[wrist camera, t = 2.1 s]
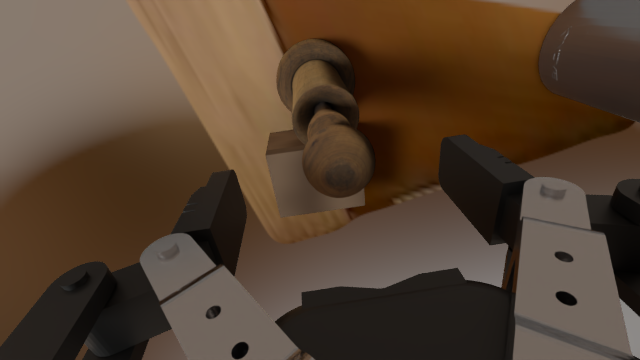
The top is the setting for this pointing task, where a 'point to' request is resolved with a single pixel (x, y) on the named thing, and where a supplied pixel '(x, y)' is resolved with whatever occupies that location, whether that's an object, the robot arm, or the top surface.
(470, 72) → the top surface
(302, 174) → the walnut stand
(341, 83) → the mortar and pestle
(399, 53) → the top surface
